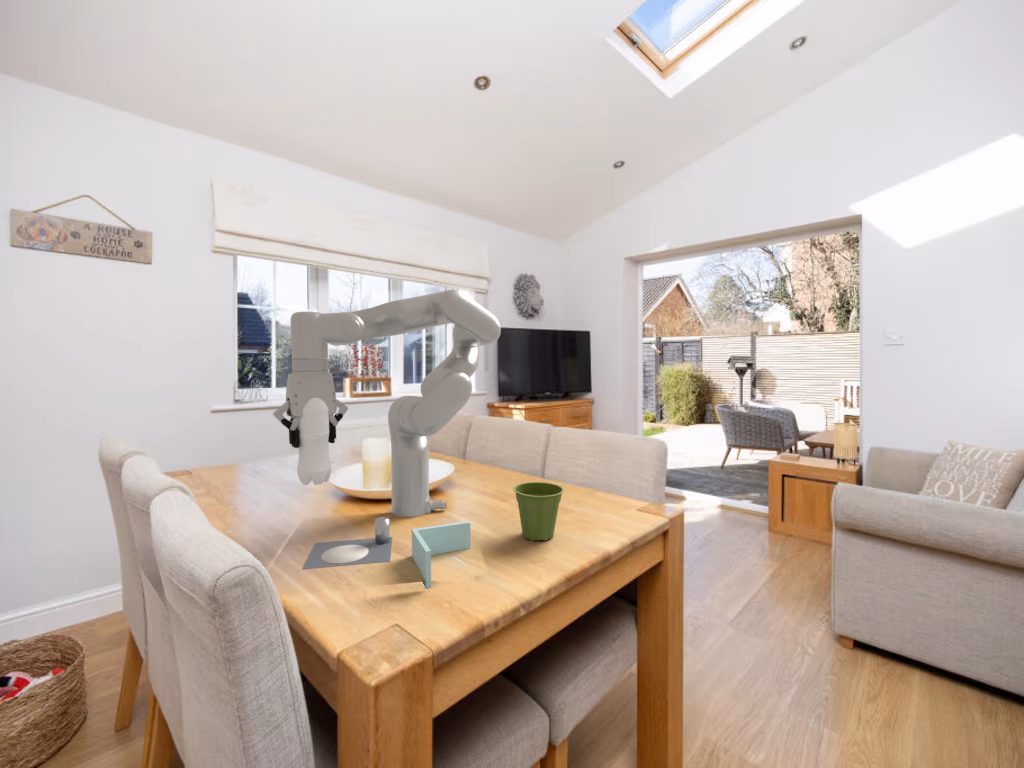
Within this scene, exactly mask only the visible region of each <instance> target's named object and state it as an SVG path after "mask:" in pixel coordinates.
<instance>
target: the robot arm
mask: <svg viewBox="0 0 1024 768" xmlns="http://www.w3.org/2000/svg"><path fill="white" fill-rule="evenodd" d="M447 324H448V325H449V324H453V328H452V339H453V340H452V343H453V344H452V350H451V351H450V353H449V354H448V355H447V356H446V358H444V360H442V361H441V362H440V363H439V364H438V365H437V366H436V367H434V368H433V369H432V371H430V372H429V373H427V375H426V376H425V377H424V378H423V380H421V381H422V382H421V383H420V393H421V395H422V396H415V395H404V396H401V397H398V398H396V399H395V400H394V401H393V402H392V403H391V405H390V407H389V409H388V415H387V421H388V427H389V428H388V430H389V434H390V448H391V451H390V453H391V458H390V459H391V460H390V463H391V467H390V468H391V473H390V474H391V509H389V510H387V511H386V514H389V513H391V514H392V515H393V516H395V517H398V518H414V517H415V518H416V517H420V516H424V515H427V514H431V513H432V512H435V510H447V508H448V507H447V504H448V503H447V501H444V500H443V501H442V499H437V500H433V499H431V495H430V489H429V488H430V464H429V463H430V461H429V460H430V448H429V447H430V446H429V439H428V438H429V437H431V436H434V435H436V434H437V433H439V431H441V430H442V429H443V428H444V427H445V426H446V425H447V424H448V423H449V422H450V421H451V420H452V419H453V418H454V417H455V416H456V415H457V414H458V413H459V412H460V411H461V410H462V409H463V407H465V406H466V405H467V403H468V402H469V400H470V398H471V395H472V393H473V385H472V384H473V383H472V380H471V379H470V378H471V377H472V376H473V375H474V374H475V372H476V370H477V368H478V366H479V361H480V360H479V359H480V349H479V347H481V346H485V347H487V346H492V344H495V343H496V342H497V341H498V340H499V338H500V336H501V333H502V331H501V329H502V327H501V323H500V321H499V320H498V318H497V317H496V316H495V315H494V314H492V313H491V312H490V311H489V310H488V309H486V308H485V307H484V306H482V305H481V304H479V303H477V302H476V301H475V300H473V299H472V298H470V297H469V296H467V295H466V294H464V293H462V292H461V291H458V290H455V289H448V290H443V291H440V292H434V293H429V294H425V295H419V296H414V297H409V298H402V299H395V300H392V301H389V302H385V303H381V304H379V305H375V306H372V307H368V308H364V309H360V310H355V311H354V310H353V311H351V312H349V311H342V312H340V311H339V312H329V313H328V312H327V313H322V312H317V311H297V312H293V313H292V314H291V317H290V338H291V339H290V340H291V341H290V342H291V343H290V344H291V345H290V346H291V364H292V365H291V367H292V373H288V375H287V380H286V389H285V391H286V392H285V402H284V403H283V404H282V405H281V406H280V407H278V408H277V409H276V410H275V411H274V412H273V414H272V415H273V417H274V418H275V419H276V420H277V421H278V422H279V423H280V424H282V426H284V427H285V428H287V430H288V438H289V439H288V441H289V445H291V448H294V449H299V430H297V426H298V424H299V422H300V418H302V417H303V414H302V412H303V408H304V407H305V405H306V404H307V402H308V401H310V400H311V399H312V398H320V399H321V400H323V401H324V402H325V403H326V405H327V407H328V410H329V411H328V415H329V431H330V432H329V441H328V444H329V443H330V444H335V442H336V439H337V426H338V424H339V423H340V421H341V420H342V419H343V417H344V416H345V414H346V413H347V411H348V410H349V407H348V406H347V405H345V404H344V403H342V402H341V401H340V400H339V399H338V398H337V395H336V387H335V382H334V377H333V374H332V372H329V371H330V370H331V368H335V362H334V361H330V359H329V348H328V347H329V345H332V346H336V347H337V346H339V347H340V346H349V345H354V344H356V343H358V342H360V341H364V340H367V339H368V340H369V339H375V338H380V337H393V336H399V335H405V334H408V333H413V332H417V331H420V330H425V329H429V328H433V327H438V326H443V325H447ZM328 344H329V345H328ZM337 409H338V411H337ZM284 413H285V415H286V416H288V417H290V419H287V418H286V417H285V416H284Z"/></svg>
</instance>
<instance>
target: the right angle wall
mask: <svg viewBox="0 0 1024 768" xmlns="http://www.w3.org/2000/svg"><path fill="white" fill-rule="evenodd" d="M467 549H469V550H470V549H471V522H470V521H469V520H467V521H459V522H453V523H446V524H439V525H431V526H426V527H425V526H424V527H418V528H413V529H412V528H411V556H412V558H413V560H414V563H415V564H416V566H417V567H418V569H419V572H420V573H421V575H422V576H423V579H424V580H421V583H422V582H423V583H422V585H423V584H424V585H423V586H425V587H424V589H425V588H426V589H429V588H431V589H432V555H439V554H443V553H449V552H450V553H451V552H455V551H462V550H467ZM453 559H456V560H457V561H459V562H460V563H461V564H465V562H463V561H462V560H461V559H459V558H457V557H456V556H453ZM426 589H425V590H426ZM429 590H430V589H429Z"/></svg>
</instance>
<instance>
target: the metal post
mask: <svg viewBox="0 0 1024 768" xmlns="http://www.w3.org/2000/svg"><path fill="white" fill-rule="evenodd" d="M390 524H391V523H390V517H389V516H379V517H376V518H375V519H374V536H375V537H374V538H375V543H376V544H379V545H383V544H387V543H389V542H390V537H391V535H390Z"/></svg>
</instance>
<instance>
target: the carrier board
mask: <svg viewBox="0 0 1024 768" xmlns="http://www.w3.org/2000/svg"><path fill="white" fill-rule="evenodd" d="M392 546H393V536H390V542H389V543H387V544H383V545H379V544H376V543H375V537H374V538H373V537H371V538H363V539H350V540H349V539H348V540H347V539H346V540H335V541H324V542H323V541H322V542H315V543H314V545H313V547H312V549H311V551H310V553H309V554H308V557H307V559H306V560H305V562H304V564H303V566H302V568H301V570H309V569H323V568H334V567H344V566H356V565H366V564H378V563H390V562H391V555H392Z"/></svg>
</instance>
